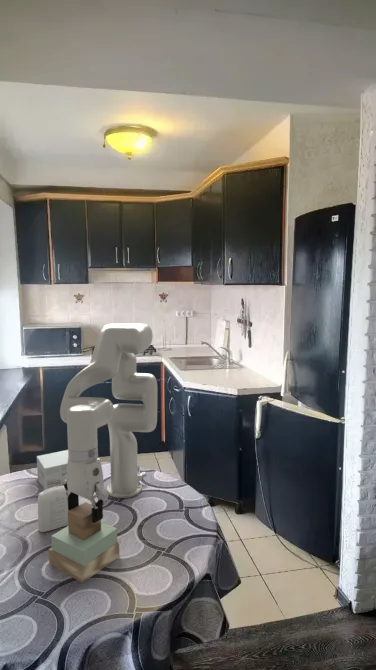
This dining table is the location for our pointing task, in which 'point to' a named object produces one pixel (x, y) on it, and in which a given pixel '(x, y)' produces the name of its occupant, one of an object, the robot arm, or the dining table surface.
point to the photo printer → (52, 509)
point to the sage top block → (84, 544)
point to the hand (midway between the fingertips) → (85, 514)
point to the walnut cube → (82, 521)
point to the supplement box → (52, 469)
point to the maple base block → (88, 570)
